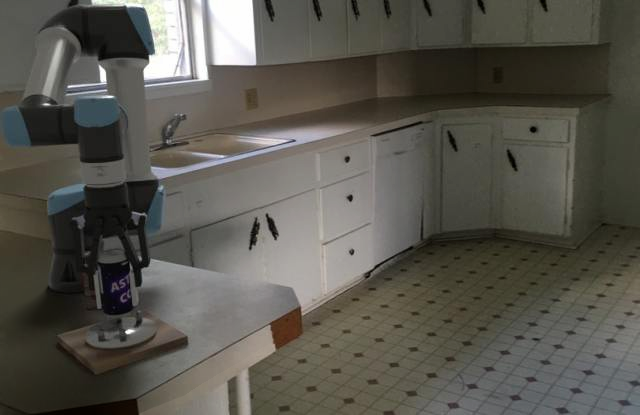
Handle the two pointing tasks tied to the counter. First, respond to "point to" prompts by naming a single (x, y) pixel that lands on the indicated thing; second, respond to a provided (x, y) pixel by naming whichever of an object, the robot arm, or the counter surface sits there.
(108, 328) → the flange
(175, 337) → the base plate
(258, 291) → the counter surface
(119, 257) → the beverage can
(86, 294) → the box
